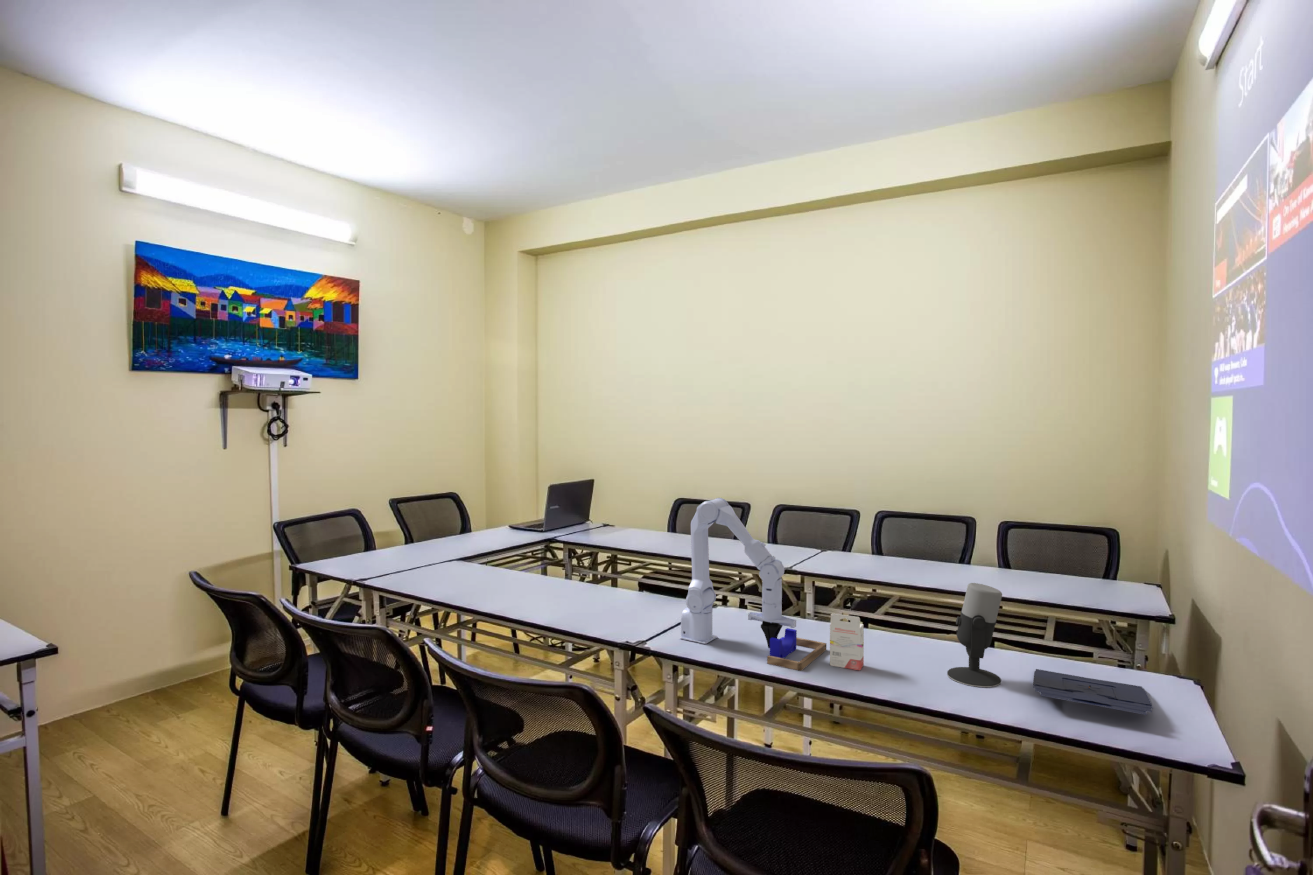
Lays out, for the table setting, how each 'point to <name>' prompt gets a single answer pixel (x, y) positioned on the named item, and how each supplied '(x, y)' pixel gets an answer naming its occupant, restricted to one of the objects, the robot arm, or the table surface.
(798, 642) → the frame
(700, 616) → the robot arm
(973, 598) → the microphone
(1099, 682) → the grooved grey slab
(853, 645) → the ink cartridge box
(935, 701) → the table surface
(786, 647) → the blue curved bracket
